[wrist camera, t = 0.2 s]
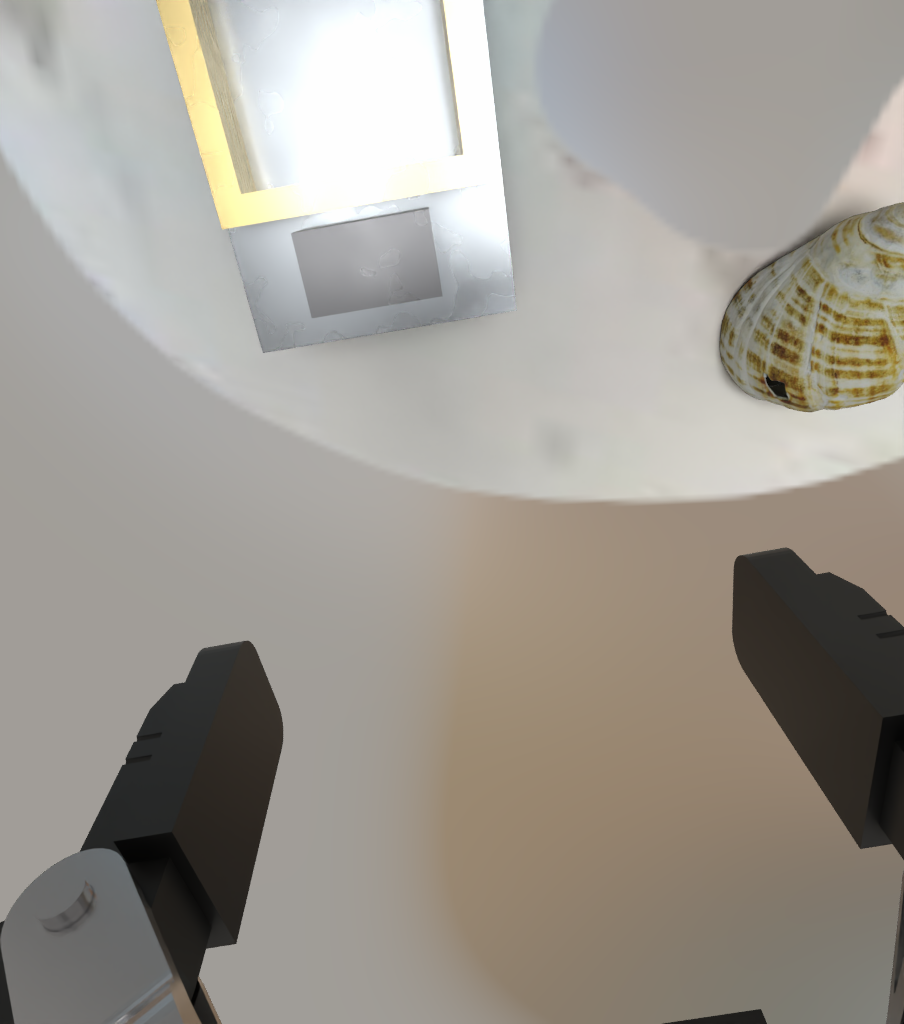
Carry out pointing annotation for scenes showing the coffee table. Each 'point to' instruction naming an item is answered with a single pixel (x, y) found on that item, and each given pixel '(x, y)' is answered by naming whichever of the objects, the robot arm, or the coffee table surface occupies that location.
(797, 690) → the robot arm
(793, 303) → the seashell
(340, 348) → the coffee table surface
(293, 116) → the grey block with frame
